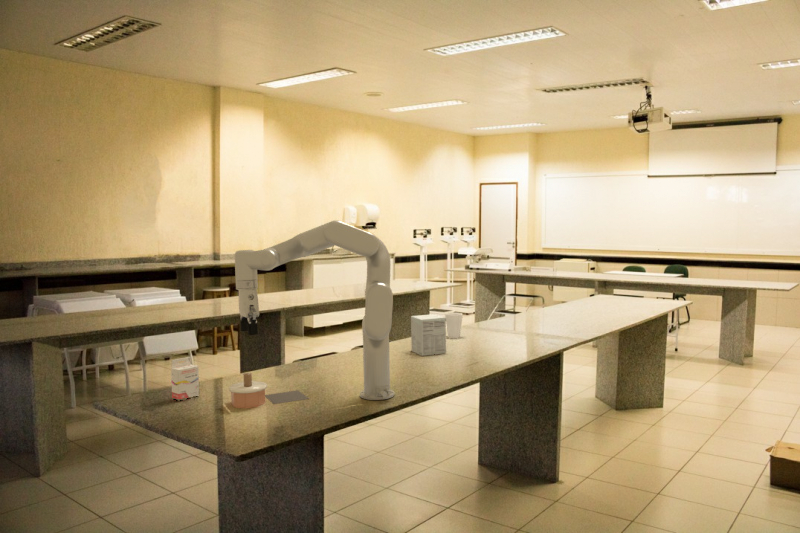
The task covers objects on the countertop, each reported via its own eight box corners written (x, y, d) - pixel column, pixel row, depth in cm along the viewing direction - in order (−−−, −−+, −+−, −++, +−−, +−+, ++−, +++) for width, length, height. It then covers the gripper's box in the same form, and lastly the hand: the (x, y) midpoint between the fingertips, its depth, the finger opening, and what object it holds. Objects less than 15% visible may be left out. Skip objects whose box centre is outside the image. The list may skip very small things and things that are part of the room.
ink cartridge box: (179, 402, 225) (177, 361, 223) (171, 399, 228) (169, 360, 227) (200, 396, 231) (198, 357, 230) (192, 394, 234) (190, 355, 233)
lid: (271, 389, 216) (270, 375, 215) (233, 395, 210) (232, 380, 209) (261, 381, 227) (261, 367, 227) (225, 386, 221) (224, 372, 221)
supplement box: (446, 353, 298) (446, 317, 297) (421, 356, 293) (421, 319, 292) (435, 348, 310) (434, 313, 309) (410, 351, 306) (410, 315, 304)
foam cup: (443, 338, 336) (443, 314, 335) (447, 335, 345) (447, 312, 344) (461, 339, 333) (460, 315, 332) (464, 336, 342) (464, 312, 341)
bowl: (267, 406, 217) (267, 389, 216) (236, 411, 212) (235, 394, 211) (259, 399, 226) (259, 382, 226) (229, 403, 221) (229, 386, 221)
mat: (309, 400, 223) (309, 398, 223) (273, 405, 218) (273, 404, 217) (297, 391, 235) (297, 390, 235) (263, 396, 229) (263, 395, 229)
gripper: (264, 286, 214) (266, 335, 215) (250, 282, 229) (252, 328, 230) (242, 287, 210) (245, 337, 212) (230, 283, 225) (232, 330, 227)
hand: (249, 332), depth 221 cm, fingers open, 9 cm apart
